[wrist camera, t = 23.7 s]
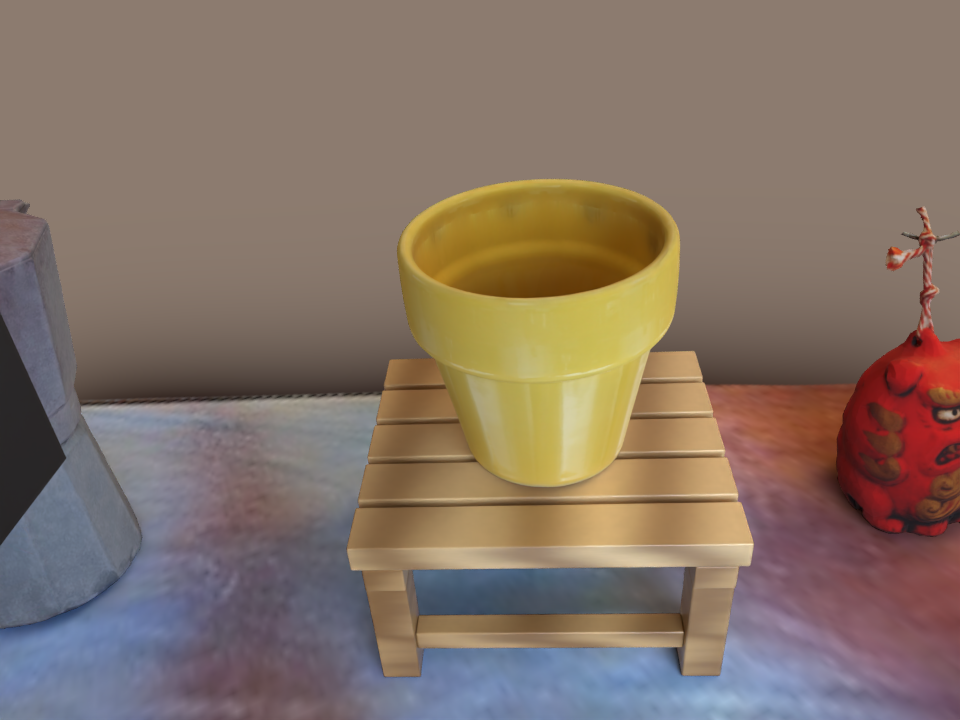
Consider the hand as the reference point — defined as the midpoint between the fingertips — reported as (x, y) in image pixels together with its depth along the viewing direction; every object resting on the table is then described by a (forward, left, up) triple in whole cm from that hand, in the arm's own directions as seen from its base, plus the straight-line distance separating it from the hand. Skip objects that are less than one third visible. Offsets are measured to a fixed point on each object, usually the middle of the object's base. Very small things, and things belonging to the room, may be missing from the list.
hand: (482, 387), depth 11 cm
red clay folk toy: (-6, -30, -25) cm, 39 cm away
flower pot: (+8, -17, -17) cm, 25 cm away
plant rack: (+8, -17, -25) cm, 31 cm away
